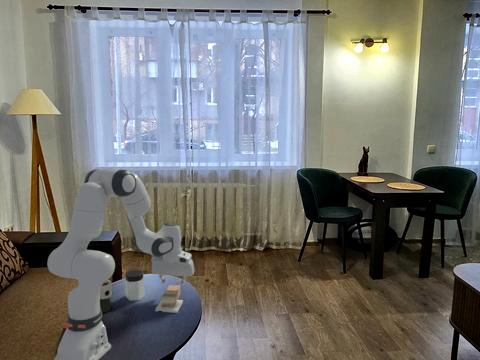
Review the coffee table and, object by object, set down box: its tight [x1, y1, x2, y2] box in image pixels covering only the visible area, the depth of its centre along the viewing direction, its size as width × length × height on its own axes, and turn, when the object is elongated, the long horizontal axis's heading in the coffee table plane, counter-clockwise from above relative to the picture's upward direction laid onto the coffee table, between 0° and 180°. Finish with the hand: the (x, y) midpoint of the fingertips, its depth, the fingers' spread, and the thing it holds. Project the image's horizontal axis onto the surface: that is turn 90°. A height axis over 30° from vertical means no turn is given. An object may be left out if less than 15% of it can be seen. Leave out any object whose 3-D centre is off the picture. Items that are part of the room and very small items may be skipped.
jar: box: [124, 269, 146, 301], centre depth 195 cm, size 9×8×12 cm
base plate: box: [154, 299, 184, 314], centre depth 187 cm, size 10×10×1 cm
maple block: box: [160, 292, 178, 308], centre depth 186 cm, size 6×6×4 cm
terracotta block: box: [165, 284, 181, 300], centre depth 196 cm, size 6×6×4 cm
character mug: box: [100, 279, 113, 313], centre depth 182 cm, size 11×7×13 cm, turn 170°
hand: (173, 283), depth 196 cm, fingers open, 8 cm apart
